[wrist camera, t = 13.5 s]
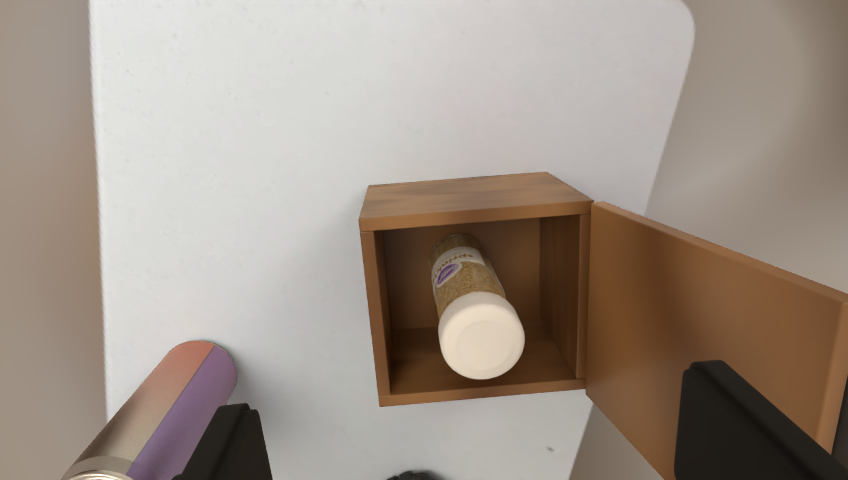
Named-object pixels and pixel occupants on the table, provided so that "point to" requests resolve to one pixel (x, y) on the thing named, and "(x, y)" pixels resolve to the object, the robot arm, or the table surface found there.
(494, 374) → the sprinkles bottle
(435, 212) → the brown wooden open box
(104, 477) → the beverage can
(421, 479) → the hiking shoe
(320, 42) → the table surface
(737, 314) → the wooden box lid
